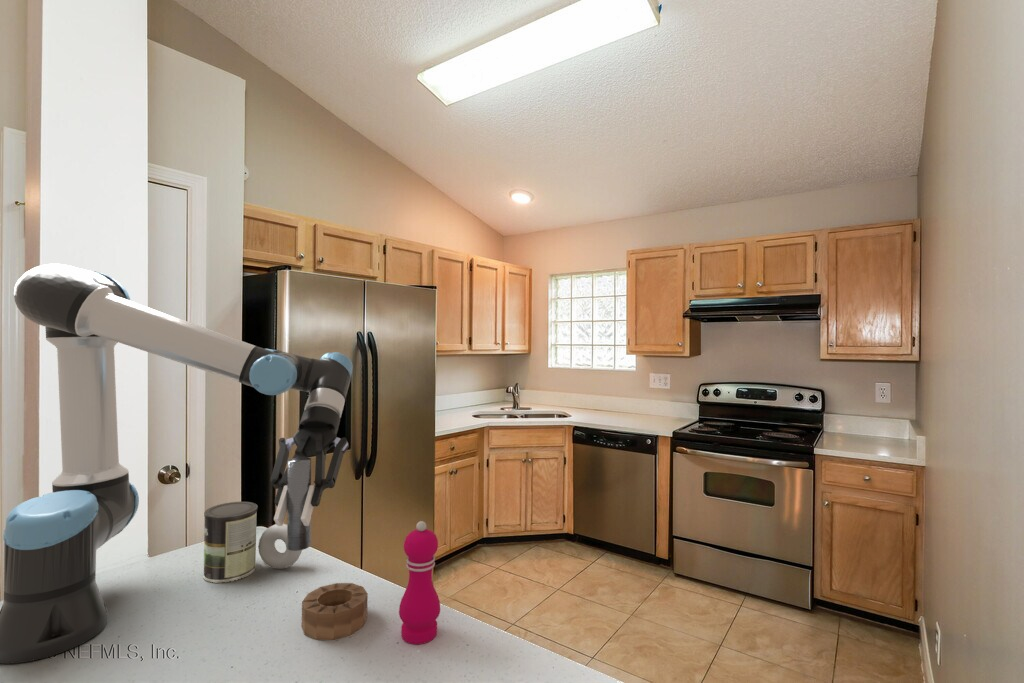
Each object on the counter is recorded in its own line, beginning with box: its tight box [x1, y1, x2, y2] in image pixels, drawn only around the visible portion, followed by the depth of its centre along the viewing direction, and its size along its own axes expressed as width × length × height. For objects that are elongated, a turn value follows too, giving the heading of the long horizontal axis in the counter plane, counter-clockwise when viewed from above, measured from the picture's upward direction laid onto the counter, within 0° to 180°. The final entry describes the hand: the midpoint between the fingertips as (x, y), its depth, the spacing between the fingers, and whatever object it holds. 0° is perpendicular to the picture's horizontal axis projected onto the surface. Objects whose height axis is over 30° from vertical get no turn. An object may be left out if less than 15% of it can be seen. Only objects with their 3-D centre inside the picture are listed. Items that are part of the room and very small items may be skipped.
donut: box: [258, 523, 303, 570], centre depth 113 cm, size 10×3×10 cm, turn 84°
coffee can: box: [202, 501, 259, 584], centre depth 111 cm, size 10×10×14 cm
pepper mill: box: [398, 520, 441, 645], centre depth 89 cm, size 7×7×20 cm
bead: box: [301, 582, 369, 641], centre depth 92 cm, size 11×11×4 cm
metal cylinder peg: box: [286, 456, 312, 551], centre depth 92 cm, size 4×4×16 cm
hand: (291, 522), depth 89 cm, fingers closed on metal cylinder peg, 4 cm apart
